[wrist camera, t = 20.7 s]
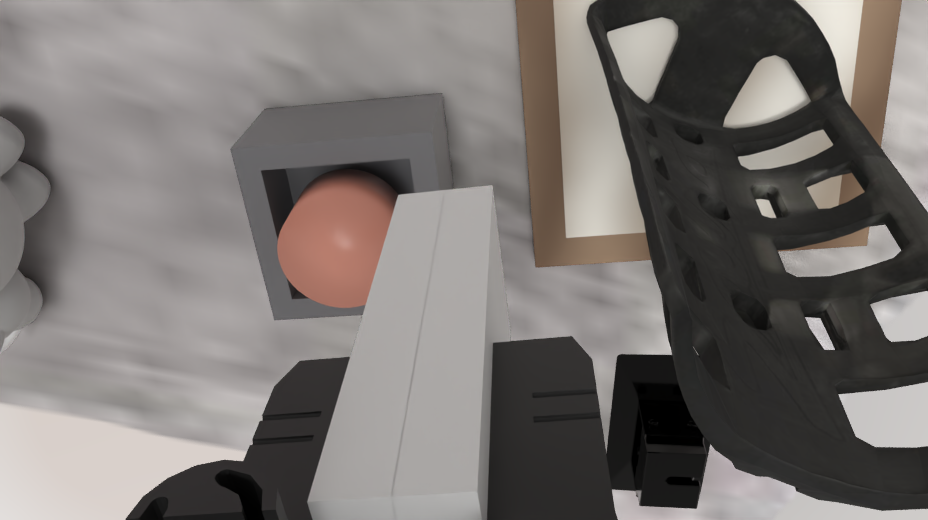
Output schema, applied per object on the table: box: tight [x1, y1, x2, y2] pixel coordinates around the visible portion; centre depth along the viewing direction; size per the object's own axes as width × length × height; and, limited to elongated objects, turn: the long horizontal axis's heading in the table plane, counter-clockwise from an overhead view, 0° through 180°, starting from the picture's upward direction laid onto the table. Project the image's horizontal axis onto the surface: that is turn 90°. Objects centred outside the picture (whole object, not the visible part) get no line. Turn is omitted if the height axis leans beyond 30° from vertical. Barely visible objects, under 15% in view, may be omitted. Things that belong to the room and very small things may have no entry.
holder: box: [586, 0, 928, 511], centre depth 25 cm, size 11×8×20 cm
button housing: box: [231, 93, 454, 320], centre depth 36 cm, size 8×8×5 cm
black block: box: [606, 354, 710, 509], centre depth 42 cm, size 12×7×5 cm, turn 0°
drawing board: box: [516, 0, 902, 267], centre depth 34 cm, size 15×16×1 cm
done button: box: [277, 169, 398, 308], centre depth 33 cm, size 5×5×3 cm
